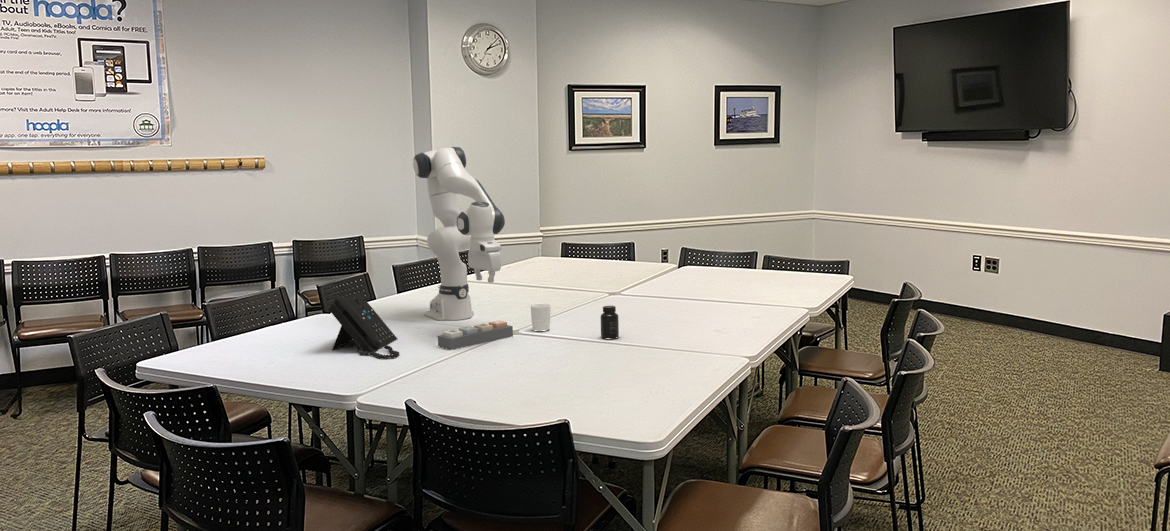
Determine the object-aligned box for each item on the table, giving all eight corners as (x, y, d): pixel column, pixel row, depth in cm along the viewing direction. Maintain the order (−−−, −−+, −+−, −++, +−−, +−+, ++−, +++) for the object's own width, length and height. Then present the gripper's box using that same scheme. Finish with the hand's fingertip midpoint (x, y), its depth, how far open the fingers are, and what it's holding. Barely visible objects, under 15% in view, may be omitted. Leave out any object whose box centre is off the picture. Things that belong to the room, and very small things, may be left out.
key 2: (459, 335, 313) (458, 328, 312) (469, 332, 316) (469, 325, 316) (467, 337, 309) (466, 330, 309) (478, 334, 313) (477, 327, 312)
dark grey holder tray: (438, 346, 308) (437, 335, 308) (499, 333, 328) (499, 323, 328) (450, 349, 303) (450, 339, 302) (512, 336, 323) (512, 326, 322)
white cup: (550, 332, 329) (549, 307, 327) (530, 332, 329) (529, 307, 328) (551, 327, 337) (551, 303, 335) (531, 328, 337) (531, 303, 335)
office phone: (393, 360, 290) (391, 303, 287) (318, 357, 295) (314, 301, 292) (425, 340, 318) (423, 288, 315) (356, 338, 324) (353, 286, 321)
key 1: (443, 338, 308) (443, 331, 307) (454, 336, 311) (454, 329, 311) (451, 340, 304) (451, 333, 304) (462, 338, 308) (462, 331, 307)
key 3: (474, 331, 318) (473, 325, 317) (484, 329, 321) (484, 322, 321) (482, 333, 314) (482, 327, 314) (492, 331, 318) (492, 324, 317)
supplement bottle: (619, 335, 322) (619, 304, 320) (618, 339, 315) (618, 308, 313) (601, 335, 322) (601, 304, 321) (600, 339, 316) (599, 308, 314)
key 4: (488, 328, 322) (488, 322, 322) (498, 326, 326) (498, 320, 326) (496, 330, 319) (496, 324, 319) (507, 328, 322) (507, 321, 322)
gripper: (463, 244, 323) (465, 279, 324) (487, 247, 306) (490, 285, 308) (477, 242, 326) (479, 277, 328) (503, 245, 309) (505, 283, 311)
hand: (485, 281), depth 318 cm, fingers open, 8 cm apart
